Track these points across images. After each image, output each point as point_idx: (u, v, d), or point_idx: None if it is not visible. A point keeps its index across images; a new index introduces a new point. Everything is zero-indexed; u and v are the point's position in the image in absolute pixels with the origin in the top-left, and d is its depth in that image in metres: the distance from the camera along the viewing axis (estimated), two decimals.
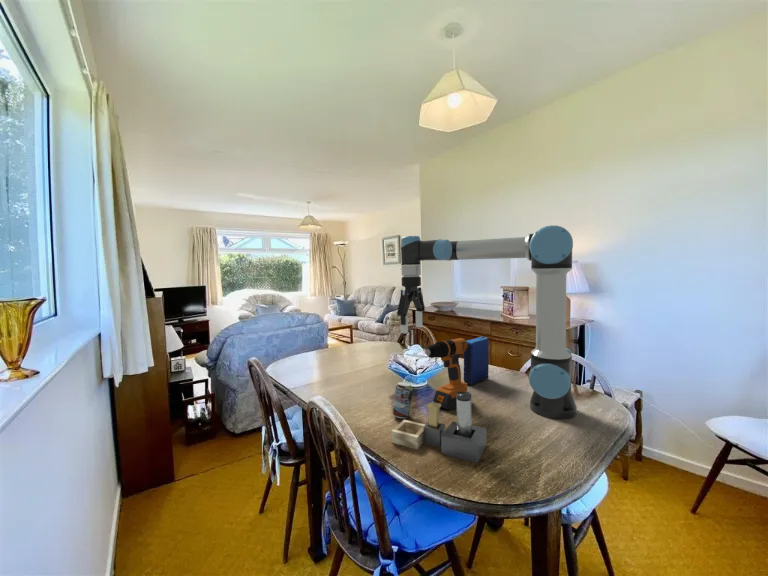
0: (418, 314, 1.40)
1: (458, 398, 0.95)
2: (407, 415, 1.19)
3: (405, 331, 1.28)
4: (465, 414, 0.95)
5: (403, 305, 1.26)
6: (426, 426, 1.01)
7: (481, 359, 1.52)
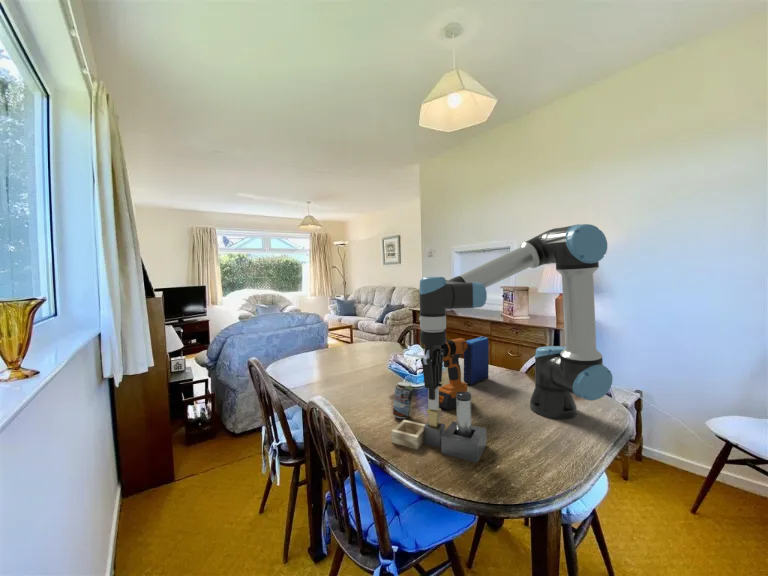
0: None
1: (458, 398, 0.95)
2: (407, 415, 1.19)
3: (434, 407, 1.00)
4: (464, 413, 0.95)
5: (430, 378, 0.96)
6: (426, 426, 1.01)
7: (481, 359, 1.52)
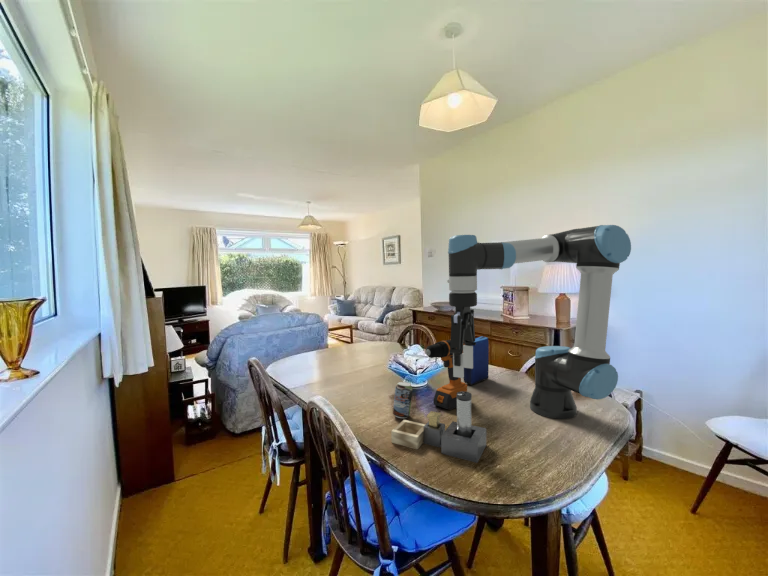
0: (467, 350, 0.99)
1: (458, 398, 0.95)
2: (407, 415, 1.19)
3: (460, 374, 0.91)
4: (465, 413, 0.95)
5: (457, 339, 0.88)
6: (426, 426, 1.01)
7: (481, 359, 1.52)
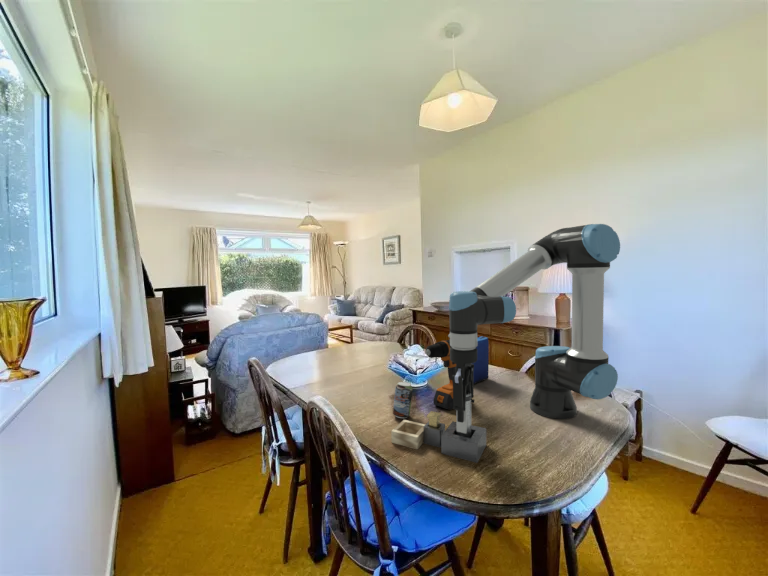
0: None
1: None
2: (407, 415, 1.19)
3: (463, 430, 0.94)
4: None
5: (460, 398, 0.91)
6: (426, 426, 1.01)
7: (481, 359, 1.52)
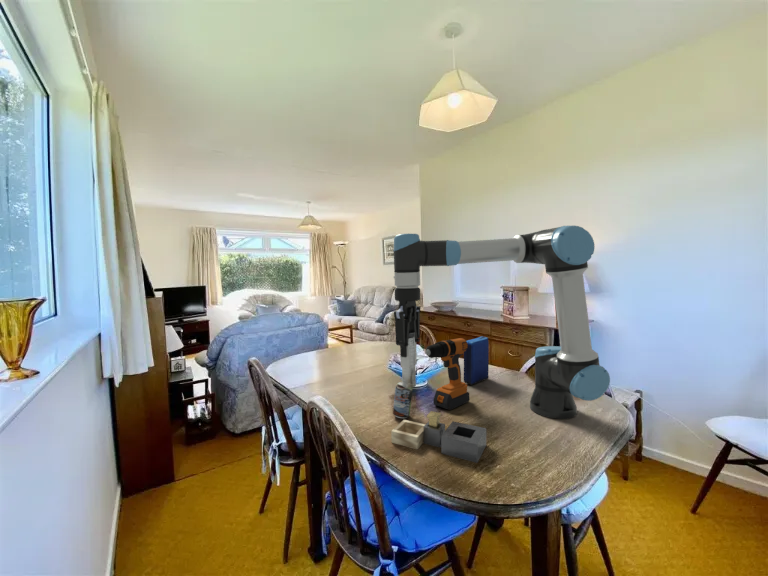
0: None
1: None
2: (407, 415, 1.19)
3: (406, 365, 0.99)
4: None
5: (401, 333, 0.96)
6: (426, 426, 1.01)
7: (481, 359, 1.52)
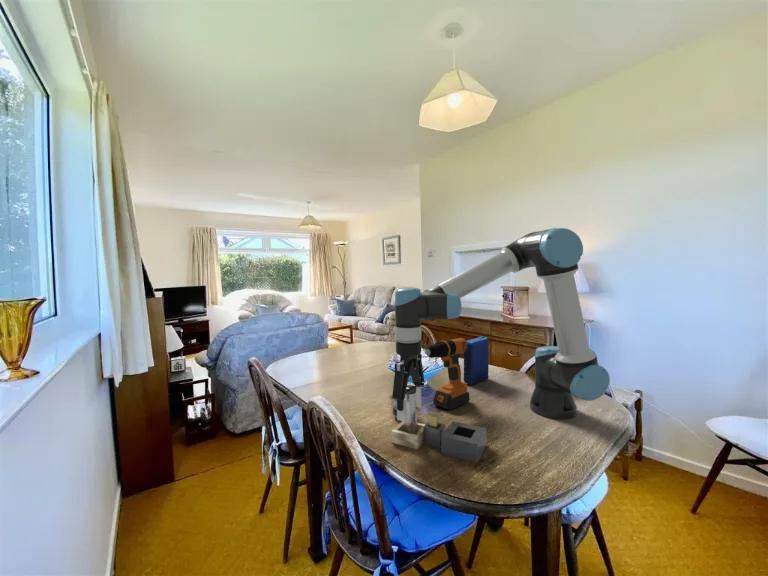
0: (416, 390, 1.07)
1: None
2: None
3: (403, 418, 0.98)
4: (409, 406, 1.01)
5: (399, 386, 0.95)
6: (426, 426, 1.01)
7: (481, 359, 1.52)
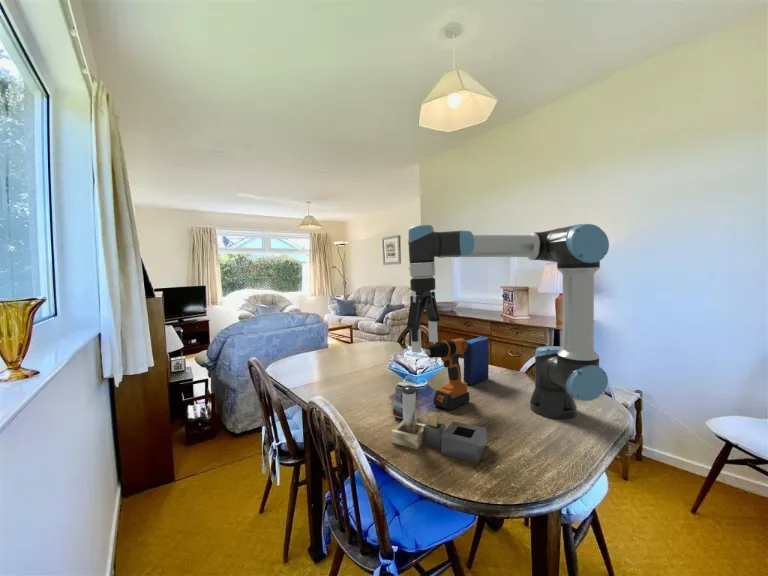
0: (432, 325, 1.10)
1: (403, 391, 1.01)
2: None
3: (418, 349, 0.98)
4: (409, 406, 1.01)
5: (414, 316, 0.96)
6: (426, 426, 1.01)
7: (481, 359, 1.52)
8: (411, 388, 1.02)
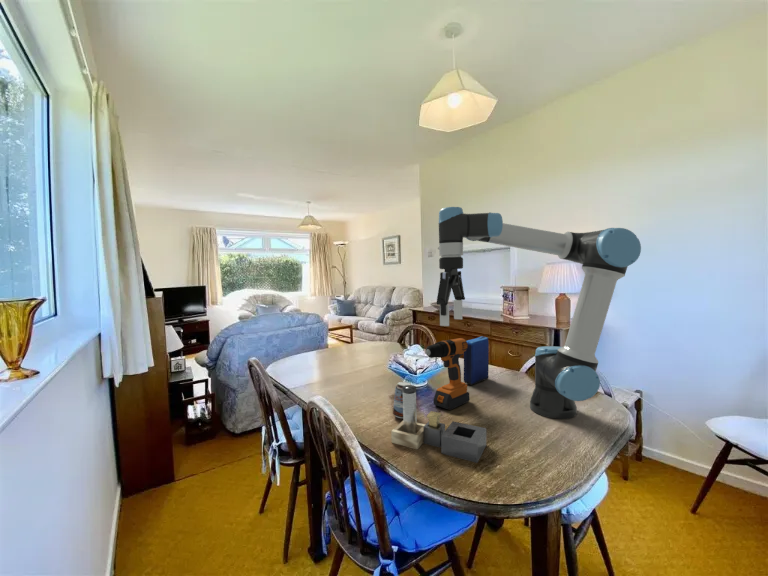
0: (457, 303, 1.16)
1: (403, 391, 1.02)
2: None
3: (446, 323, 1.05)
4: (409, 405, 1.01)
5: (444, 291, 1.02)
6: (426, 426, 1.01)
7: (481, 359, 1.52)
8: (411, 388, 1.02)
